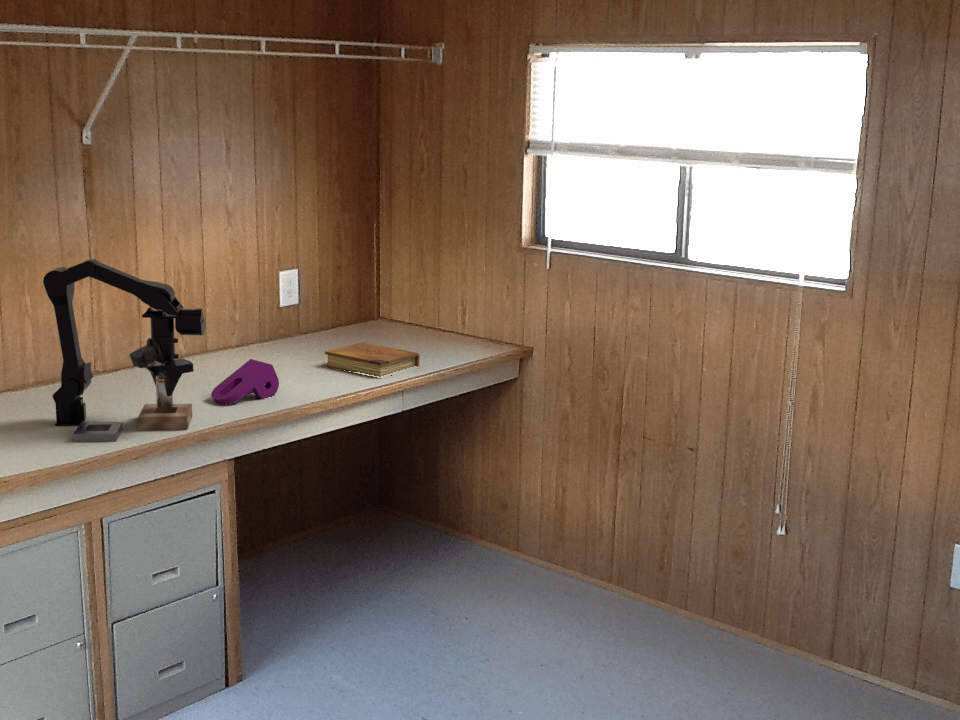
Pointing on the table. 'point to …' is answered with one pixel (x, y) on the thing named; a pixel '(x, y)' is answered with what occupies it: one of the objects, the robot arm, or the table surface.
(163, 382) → the steel pin
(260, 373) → the mounting bracket
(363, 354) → the diary
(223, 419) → the table surface
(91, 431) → the pin mount
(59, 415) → the robot arm
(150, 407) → the socket block
